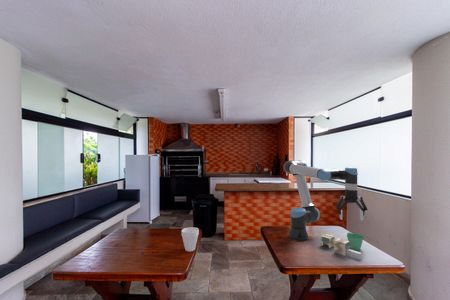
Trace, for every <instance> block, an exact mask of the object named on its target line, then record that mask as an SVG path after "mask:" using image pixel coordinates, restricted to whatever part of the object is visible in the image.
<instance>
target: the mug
mask: <svg viewBox="0 0 450 300" xmlns="http://www.w3.org/2000/svg"><path fill="white" fill-rule="evenodd" d="M346 238H347V241H349V242H350V249H351V250H354V251H360V250H361V248H362V244H363V240H364V236H363V235H361V234H358V233H352V232H349V231H348V232H347V234H346Z"/></svg>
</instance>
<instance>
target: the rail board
mask: <svg viewBox="0 0 450 300" xmlns="http://www.w3.org/2000/svg"><path fill="white" fill-rule="evenodd" d="M333 253H334V254H336V255H340V256H343V257H346V258H348V259H352V260H355V261H357V262H362V261H364V260H365V259H366V257H363V254H362V252H360V251H358V250H354V249H351V248H350V249H348V248H347V249H346V256H344V255H341V254H338V253H336V252H333Z"/></svg>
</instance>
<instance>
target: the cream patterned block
mask: <svg viewBox="0 0 450 300" xmlns="http://www.w3.org/2000/svg"><path fill="white" fill-rule="evenodd" d="M320 240H321V241H320V242H321V246H322V247H323V246H325V245H328V249H332V248H334V240H336V237H335V236H334V235H331V234H327V233H325V234H323V235H321V236H320Z"/></svg>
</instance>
